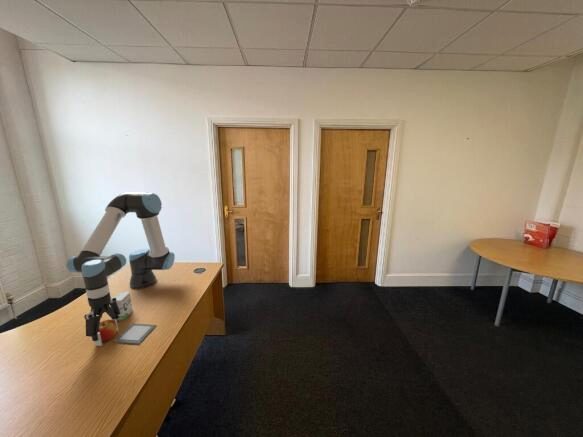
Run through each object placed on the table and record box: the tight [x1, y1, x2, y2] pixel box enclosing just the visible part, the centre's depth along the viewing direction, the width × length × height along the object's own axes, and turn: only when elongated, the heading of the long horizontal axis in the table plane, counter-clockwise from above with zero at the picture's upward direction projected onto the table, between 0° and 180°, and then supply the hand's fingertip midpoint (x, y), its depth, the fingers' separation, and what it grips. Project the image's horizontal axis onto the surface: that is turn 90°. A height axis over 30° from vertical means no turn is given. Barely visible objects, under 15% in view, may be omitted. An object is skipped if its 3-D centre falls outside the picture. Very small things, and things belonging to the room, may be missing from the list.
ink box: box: [114, 291, 133, 322], centre depth 118 cm, size 9×5×12 cm, turn 9°
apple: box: [98, 319, 118, 342], centre depth 102 cm, size 8×8×10 cm
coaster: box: [113, 323, 157, 345], centre depth 107 cm, size 12×12×1 cm
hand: (107, 337), depth 103 cm, fingers closed on apple, 8 cm apart
